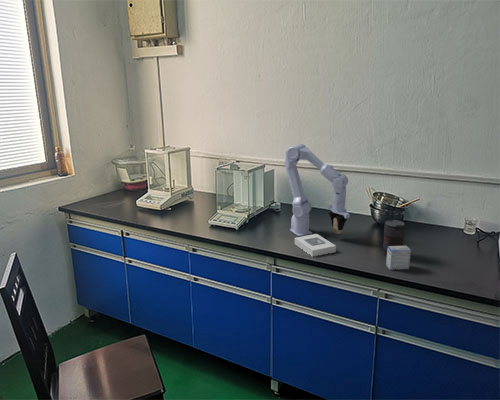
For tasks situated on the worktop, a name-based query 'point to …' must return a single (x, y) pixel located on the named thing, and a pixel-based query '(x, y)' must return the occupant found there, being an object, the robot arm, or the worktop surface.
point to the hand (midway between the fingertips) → (337, 228)
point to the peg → (336, 227)
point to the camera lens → (393, 234)
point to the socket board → (315, 245)
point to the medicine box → (398, 257)
